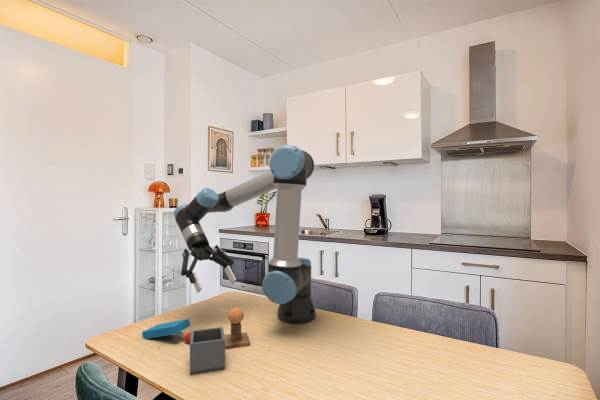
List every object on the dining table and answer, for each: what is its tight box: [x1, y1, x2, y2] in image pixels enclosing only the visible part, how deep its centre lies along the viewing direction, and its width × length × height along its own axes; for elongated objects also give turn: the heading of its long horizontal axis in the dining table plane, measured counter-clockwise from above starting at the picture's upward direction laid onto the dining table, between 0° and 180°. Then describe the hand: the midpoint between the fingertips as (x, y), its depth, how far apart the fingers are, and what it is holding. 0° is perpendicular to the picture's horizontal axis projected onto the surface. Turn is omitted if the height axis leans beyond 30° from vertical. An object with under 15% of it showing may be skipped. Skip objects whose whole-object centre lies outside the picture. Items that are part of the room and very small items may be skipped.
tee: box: [224, 321, 251, 350], centre depth 100 cm, size 8×8×6 cm
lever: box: [141, 318, 191, 345], centre depth 103 cm, size 7×7×18 cm
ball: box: [227, 307, 245, 324], centre depth 100 cm, size 5×5×5 cm
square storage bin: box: [189, 326, 226, 376], centre depth 87 cm, size 9×9×8 cm
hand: (217, 286), depth 107 cm, fingers open, 13 cm apart
